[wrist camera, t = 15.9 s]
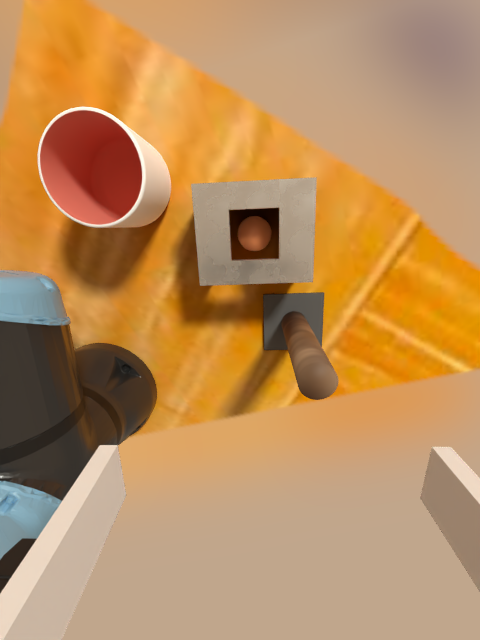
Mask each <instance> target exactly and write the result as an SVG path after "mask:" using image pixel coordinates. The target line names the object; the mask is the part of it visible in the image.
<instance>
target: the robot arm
mask: <svg viewBox="0 0 480 640" xmlns="http://www.w3.org/2000/svg"><path fill="white" fill-rule="evenodd" d="M70 323H71V322H70V318H69V317H67V314H66V311H65V308H64V304H63V301H62V297H61V293H60V290H59V288H58V286H57V284H56V283H55V282H54V281H53V280H52V279H50V278H49V277H47V276H45V275H42V274H39V273H34V272H26V271H12V270H0V640H61V639H62V637H63V635H64V633H65V630H66V628H67V626H68V624H69V622H70V619H71V617H72V615H73V613H74V611H75V608H76V606H77V604H78V602H79V599H80V597H81V595H82V593H83V590H84V588H85V586H86V584H87V582H88V579H89V577H90V575H91V572H92V570H93V568H94V566H95V564H96V561H97V559H98V557H99V555H100V552H101V550H102V548H103V546H104V543H105V541H106V539H107V537H108V534H109V532H110V530H111V528H112V526H113V523H114V521H115V519H116V517H117V515H118V512H119V510H120V508H121V506H122V503H123V501H124V499H125V497H126V491H125V486H124V480H123V474H122V468H121V462H120V456H119V450H118V445H119V444H121V443H122V442H123V441H124V440H126V439H127V438H128V437H129V436H130V435H132V434H133V433H135V432H136V431H138V430H139V429H140V428H141V427H142V426H143V425H144V424H145V423H146V421H147V420H148V418H149V416H150V415H151V413H152V411H153V409H154V407H155V404H156V399H157V389H156V384H155V380H154V378H153V376H152V374H151V372H150V370H149V369H148V367H147V366H146V365H145V364H144V362H143V361H142V360H141V359H139V358H138V357H137V356H136V355H134V354H133V353H131V352H130V351H128V350H126V349H124V348H122V347H119V346H116V345H112V344H106V343H95V344H89V345H85V346H82V347H80V348H78V349H76V350H75V351H74V347H73V342H72V336H71V331H70V326H69V324H70ZM421 500H422V501H423V503H424V505H425V506H426V508H427V509H428V511H429V513H430V514H431V516H432V517H433V519H434V521H435V522H436V524H437V525H438V526H439V528H440V530H441V532H442V533H443V535H444V536H445V538H446V539H447V541H448V542H449V544H450V545H451V547H452V549H453V550H454V552H455V553H456V555H457V557H458V558H459V560H460V561H461V563H462V565H463V566H464V568H465V569H466V571H467V572H468V574H469V576H470V577H471V579H472V580H473V582H474V583H475V585H476V587H477V588H478V590H479V591H480V478H479V477H478V476H477V475H476V474H475V473H474V472H473V471H472V470H471V468H470V467H468V465H467V464H466V463H465V462H464V461H463V460H462V459H461V458H460V457H459V455H457V453H456V452H455V451H454V450H453V449H452V448H451V447H432V449H431V454H430V458H429V462H428V466H427V471H426V475H425V480H424V484H423V489H422V493H421Z"/></svg>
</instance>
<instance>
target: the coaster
mask: <svg viewBox="0 0 480 640" xmlns="http://www.w3.org/2000/svg"><path fill="white" fill-rule="evenodd" d="M263 301H264V350H288V347H287V344H286V340H285V336H284V333H283V329H282V325H281V322H282V319H283V317H284V316H285V315H286V314H287V313H289V312H292V311H297V312H300V313H302V314H303V315H304V317H305V318H306V320H307V322H308V324H309V325H310V327H311V329H312V331H313V333H314V334H315V336H316V338H317V340H318V342H319V343H320V345H321V347H322V328H323V307H324V293H292V294H263Z"/></svg>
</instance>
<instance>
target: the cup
mask: <svg viewBox="0 0 480 640" xmlns="http://www.w3.org/2000/svg"><path fill="white" fill-rule="evenodd" d="M38 168H39V174H40V178H41V181H42V184H43V186H44V188H45V190H46V192H47V194H48V196H49V197H50V199H51V200H52V202H53V203H54V204H55V206H56V207H57V208H58V209H59V210H60V211H61V212H62V213H63V214H65V215H66V216H67V217H69V218H70V219H72V220H73V221H75V222H77V223H79V224H82V225H85V226H88V227H94V228H125V227H141V226H145V225H148V224H150V223H152V222H153V221H155V220H156V219H157V218H159V216H160V215H161V214H162V213H163V212H164V210H165V208H166V207H167V204H168V202H169V199H170V194H171V179H170V174H169V171H168V168H167V165H166V163H165V161H164V160H163V158H162V156H161V155H160V154H159V152H158V151H157V150H156V149H155V148H154V147H153V146H152V145H150V144H149V143H148V142H147V141H145V140H144V139H143V138H142V137H140V136H139V135H138V134H136V133H135V132H134V131H133V130H131V129H130V128H129V127H127V126H126V125H125V124H124V123H122V122H121V121H120V120H118V119H117V118H116V117H114V116H113V115H111V114H109V113H107V112H105V111H103V110H100V109H97V108H92V107H76V108H72V109H69V110H66V111H64V112H62V113H60V114H59V115H57V116H56V117H55V118H54V119H53V120H52V121H51V122H50V123H49V124H48V126H47V127H46V129H45V131H44V132H43V135H42V137H41V140H40V144H39V149H38Z"/></svg>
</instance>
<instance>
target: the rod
mask: <svg viewBox="0 0 480 640" xmlns="http://www.w3.org/2000/svg"><path fill="white" fill-rule="evenodd" d="M281 325H282V329H283V333H284V336H285V340H286V344H287V347H288V351H289V354H290V358H291V362H292V365H293V369H294V373H295V376H296V380H297V383H298V387H299V390H300V391H301V393H302V394H303V395H304V396H306V397H308V398H310V399H315V400H319V399H324V398H327V397H329V396H330V395H332V394H333V393H334V391H335V390H336V388H337V386H338V376H337V374H336V372H335V370H334V369H333V367H332V365H331V363H330V361H329V360H328V358H327V356H326V354H325V352H324V351H323V349H322V347H321V345H320V343H319V342H318V340H317V338H316V336H315V334H314V333H313V331H312V329H311V327H310V325H309V324H308V322H307V320H306V318H305V317H304V315H303V314H302V313H300V312H297V311H292V312H289V313H287V314H286V315H285V316H284V317H283V319H282V322H281Z"/></svg>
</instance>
